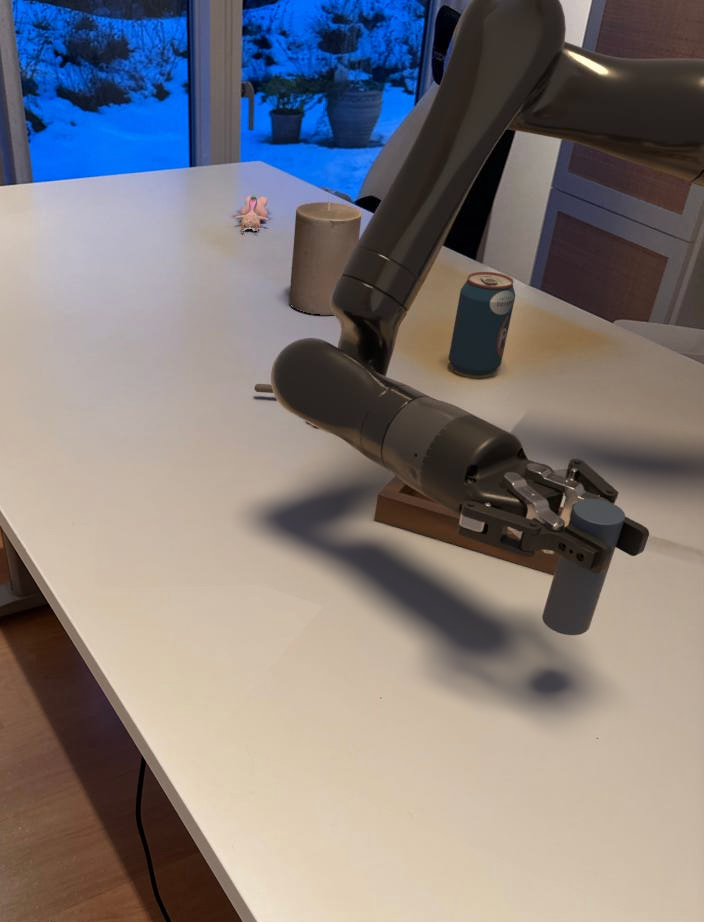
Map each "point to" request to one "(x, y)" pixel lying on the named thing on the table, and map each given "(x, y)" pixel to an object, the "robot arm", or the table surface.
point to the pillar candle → (321, 253)
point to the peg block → (444, 524)
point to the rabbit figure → (253, 212)
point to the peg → (581, 570)
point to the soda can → (481, 324)
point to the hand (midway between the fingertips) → (624, 552)
